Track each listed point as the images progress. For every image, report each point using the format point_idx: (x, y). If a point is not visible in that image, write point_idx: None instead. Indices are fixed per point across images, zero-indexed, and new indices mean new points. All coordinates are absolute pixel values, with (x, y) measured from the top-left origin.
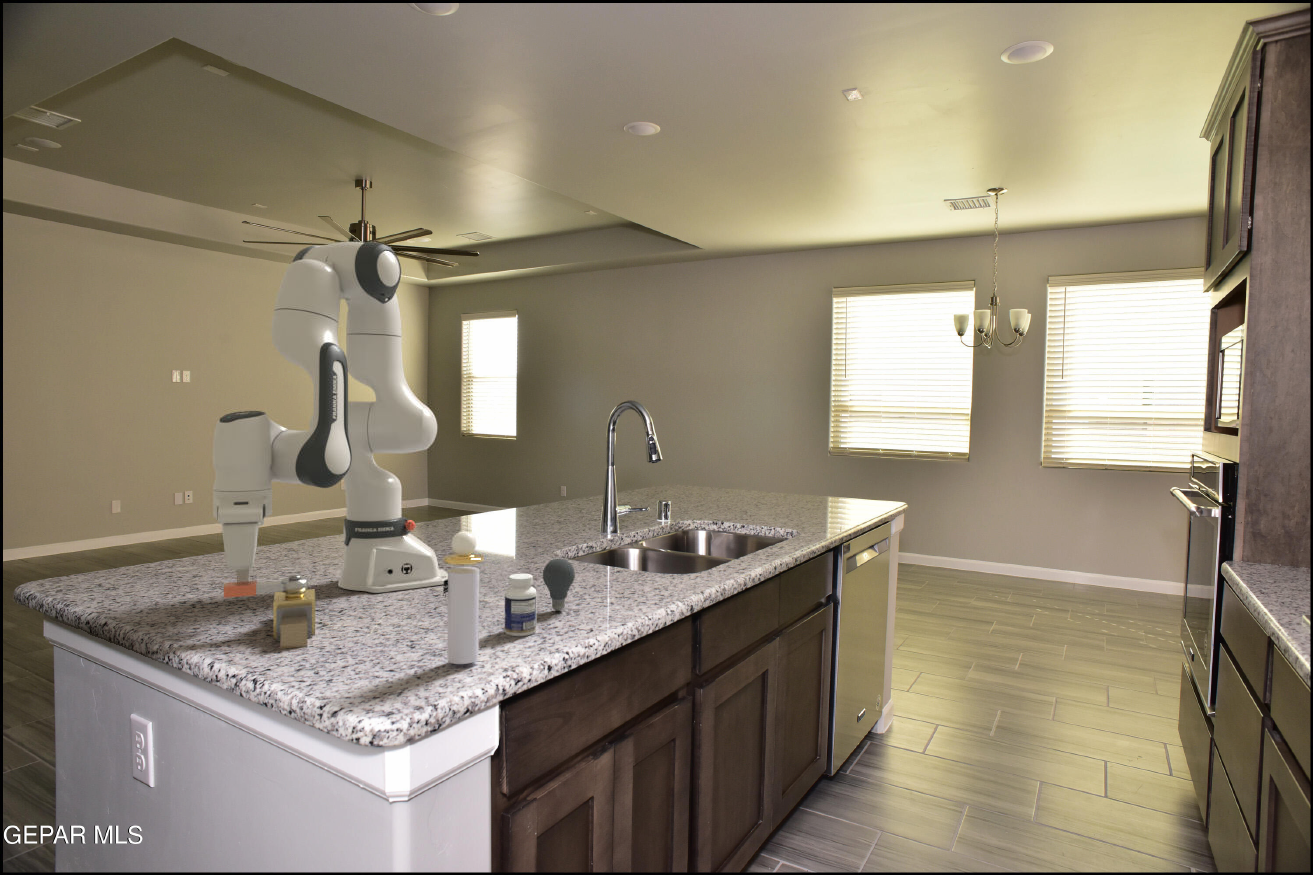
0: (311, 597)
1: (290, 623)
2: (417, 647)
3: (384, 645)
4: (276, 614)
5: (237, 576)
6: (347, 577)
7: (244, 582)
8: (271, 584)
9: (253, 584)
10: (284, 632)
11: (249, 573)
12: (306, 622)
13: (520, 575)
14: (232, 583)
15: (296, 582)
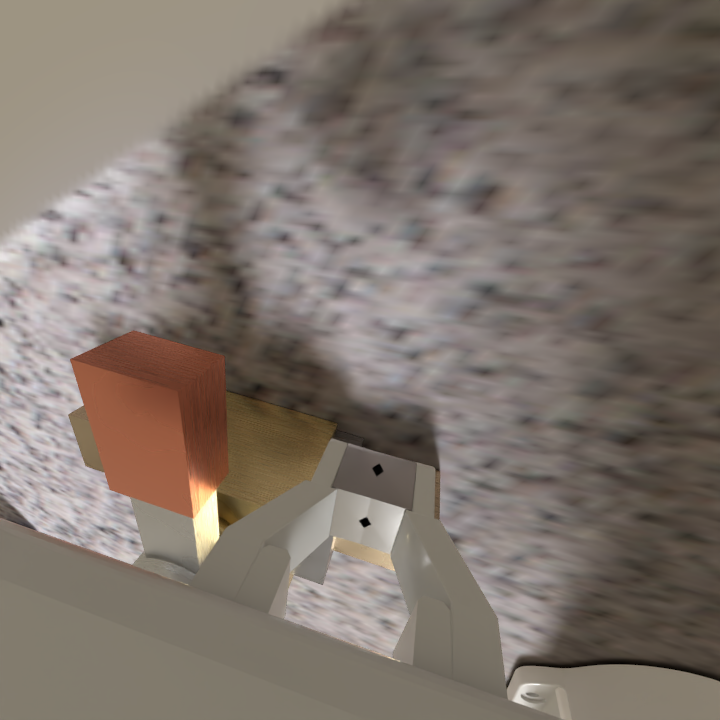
0: None
1: (82, 436)
2: (100, 532)
3: (118, 510)
4: None
5: (295, 487)
6: (661, 717)
7: (165, 468)
8: (141, 529)
9: (111, 482)
10: None
11: (393, 557)
12: (87, 464)
13: None
14: (155, 418)
15: None
